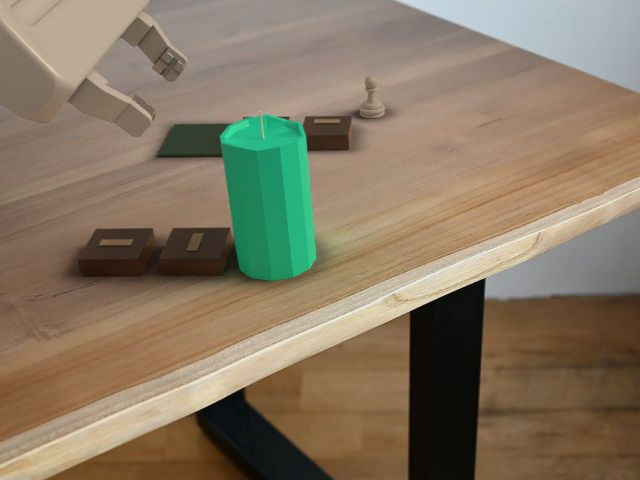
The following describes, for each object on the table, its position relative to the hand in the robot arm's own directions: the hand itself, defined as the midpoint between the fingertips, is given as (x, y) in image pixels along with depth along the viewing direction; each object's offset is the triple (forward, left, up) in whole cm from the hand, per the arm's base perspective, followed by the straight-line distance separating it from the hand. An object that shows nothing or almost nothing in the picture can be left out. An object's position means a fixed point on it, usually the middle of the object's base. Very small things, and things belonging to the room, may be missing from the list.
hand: (165, 97), depth 62 cm
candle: (+6, 0, -13) cm, 15 cm away
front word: (-3, 0, -13) cm, 13 cm away
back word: (+5, +21, -13) cm, 25 cm away
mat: (-4, +21, -13) cm, 25 cm away
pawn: (+12, +27, -13) cm, 33 cm away
